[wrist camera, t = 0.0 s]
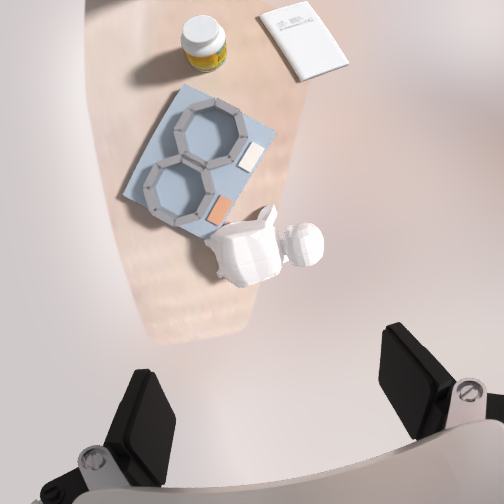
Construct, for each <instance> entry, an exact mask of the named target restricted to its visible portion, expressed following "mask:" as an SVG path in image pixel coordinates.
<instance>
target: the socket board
mask: <svg viewBox="0 0 504 504" xmlns="http://www.w3.org/2000/svg"><path fill="white" fill-rule="evenodd" d="M276 134H277V132H275V131H274V130H272V129H270V128H268V127H267V126H265V125H263V124H261V123H260V122H258V121H256V120H254V119H253V118H251V117H249V116H247V115H245V114H244V113H242V112H240V109H238V108H236V107H234V106H232V105H230V104H228V103H226V102H225V101H223V100H221V99H219V98H217V99H215V98H213V97H211V96H209V95H207V94H205V93H203V92H201V91H199V90H197V89H195V88H193V87H191V86H188V85H186V84H184V85H183V86H182V88H181V89H180V91H179V92H178V94H177V95H176V97H175V99H174V100H173V102H172V103H171V105H170V107H169V108H168V110H167V112H166V113H165V115H164V117H163V118H162V120H161V122H160V124H159V125H158V127H157V129H156V131H155V132H154V134H153V136H152V138H151V140H150V141H149V143H148V145H147V147H146V149H145V151H144V153H143V155H142V156H141V158H140V160H139V162H138V164H137V166H136V168H135V170H134V172H133V174H132V176H131V178H130V181H129V183H128V185H127V187H126V189H125V191H124V193H123V195H124V196H125V197H127V198H129V199H131V200H133V201H134V202H136V203H138V204H140V205H142V206H143V207H145V208H147V209H149V212H150V213H151V212H152V214H151V215H153V216H155V217H156V218H158V219H160V220H162V221H164V222H165V223H167V224H169V225H171V226H174V225H175V227H177V226H179V227H181V228H183V229H185V230H187V231H188V232H190V233H192V234H194V235H196V236H198V237H199V238H201V239H203V240H205V239H211V237H210V236H211V234H213V233H214V232H215V231H216V230H217V229H220V228H221V226H222V225H223V223H224V221H225V219H226V218H227V216H228V214H229V212H230V211H231V209H232V207H233V206H234V204H235V202H236V200H237V199H238V197H239V195H240V194H241V192H242V190H243V188H244V187H245V185H246V183H247V182H248V180H249V178H250V177H251V175H252V173H253V172H254V170H255V168H256V167H257V165H258V163H259V162H260V160H261V158H262V157H263V155H264V153H265V152H266V150H267V149H268V147H269V145H270V144H271V142H272V140H273V139H274V137H275V136H276Z"/></svg>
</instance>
